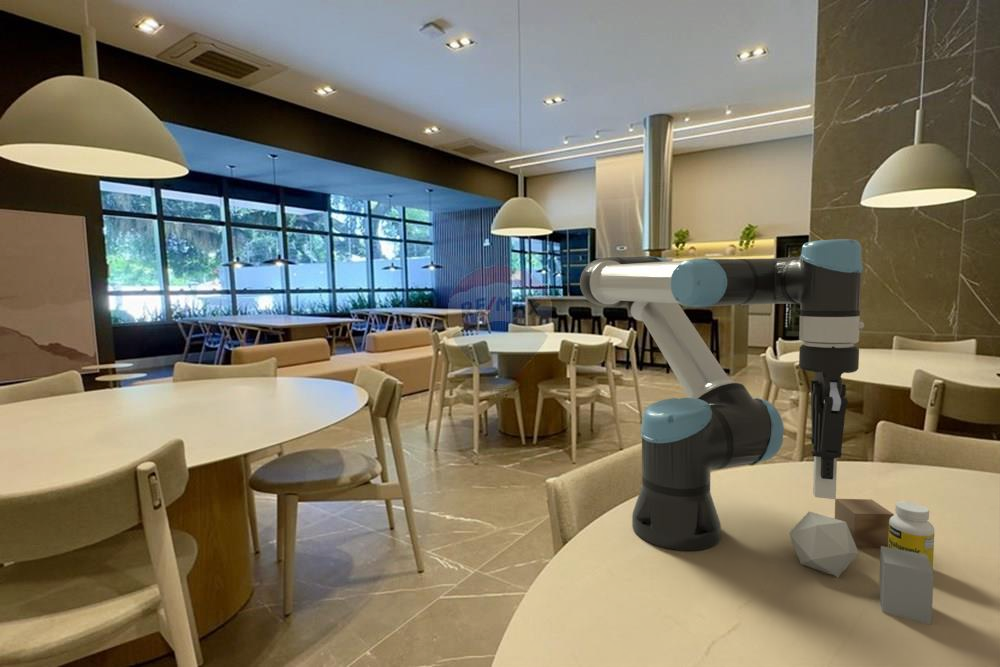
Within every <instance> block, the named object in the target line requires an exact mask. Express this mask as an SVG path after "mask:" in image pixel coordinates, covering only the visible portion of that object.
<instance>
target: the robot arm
mask: <svg viewBox="0 0 1000 667" xmlns="http://www.w3.org/2000/svg"><path fill="white" fill-rule="evenodd" d="M800 253H801V254H800V255H799V256H796V257H795V256H793V257H778V258H776V257H775V258H771V257H770V258H707V257H706V258H705V257H704V258H703V257H701V258H700V257H698V258H692V259H686V260H672V261H668V260H667V259H665V258H663V257H655V256H651V255H649V256H643V257H641V256H640V257H639V256H638V257H637V256H634V257H633V256H632V257H631V256H628V257H626V256H624V257H623V256H622V257H612V256H610V257H601V258H598V259H595V260H593V261H591V262H590V263H589V264H587V265H586V266H585V267H584V269H583V270H582V272H581V275H580V278H579V287H580V291H581V293H582V295H583V296H584V298H585V299H586V301H588V302H590V303H591V304H594V305H595V306H599V307H606V308H607V307H608V308H611V307H613V308H617V307H626V308H627V309H628V312H629V313H630V315H631V317H633V319H634V320H636V321H639V322H643V324H644V325H645V327H646V329H647V330H648V332H649V334H650V335H651V337H652V338H653V340H654V342H655V344H656V346H657V347H658V349H659V350H660V352H661V354H662V356H663V357H664V359H665V361H666V363H667V364H668V365H669V367H670V368H671V370H672V372H673V373H674V375H675V377H676V379H677V381H678V382H679V384H680V386H681V387H682V389H683V390H684V392H685V394H686V397H681V398H677V397H675V398H674V397H672V398H666V399H662V400H658V401H656V402H655V401H654V402H653V403H650V404H649V405H648V406H647V407H646V408H645V409H644V411H643V412H642V419H641V428H640V435H641V488H640V489H639V490H640V491H639V494H638V496H637V499H636V502H635V504H634V505H635V506H634V507H633V511H632V517H631V518H632V520H631V523H632V525H631V526H632V529H633V531H634V532H635V534H636V535H637V537H639V538H641V539H642V540H644V541H646V542H647V543H650V544H652V545H655V546H658V547H661V548H665V549H668V550H669V549H670V550H675V551H700V550H707V549H709V548H711V547H714V546H716V545H717V544H718V543H719V542H720V540H721V537H722V536H721V535H722V534H721V528H722V525H721V521H720V517H719V513H718V512H717V508H716V506H715V502H714V500H713V497H712V493H711V472H712V471H717V470H722V469H731V468H735V467H740V466H741V467H742V466H743V467H744V466H753V465H756V464H760V463H762V462H767V461H769V460H770V459H772V458H774V457H775V456H776V455H777V454H778V453H779V451H780V450H781V448H782V445H783V443H784V437H783V436H784V434H785V429H784V428H785V427H784V426H785V425H784V422H783V419H782V416H781V414H780V411H779V410H778V409H777V408H776V406H774V404H773V403H772V402H770V401H769V400H767V399H762V398H759V397H757V398H753V396H752V395H751V393H750V392H749V391H748V389H747V388H746V386H745V385H744V383H741V382H739V381H733V380H731V379H730V378H729V376H728V375H727V373H726V371H725V370H724V369H723V367H722V366H721V365H720V363H719V361H718V360H717V359H716V357H715V355H714V354H713V353H712V350H710V348H709V347H708V346H707V343H705V341H704V340H703V338H702V336H701V335H700V333H699V331H698V330H697V329H696V328H695V326H694V325H693V323H692V321H691V320H690V319H689V317H688V316H687V314H686V313H685V311H684V310H683V309H682V307H681V306H683V307H691V308H708V307H721V306H743V305H744V306H746V305H747V306H748V305H775V304H776V305H777V304H779V305H781V304H783V305H784V304H785V305H786V304H790V305H791V304H792V305H793V304H795V305H799V306H800V314H799V331H798V332H799V334H798V335H799V336H798V340H799V341H801V342H802V343H803V344H801V345H800V346H799V351H798V352H799V355H798V366H799V368H800V369H802V370H804V371H806V372H813V373H814V380H810V381H809V389H810V403H811V404H810V410H811V415H810V416H811V438H810V439H811V440H810V441H811V444H812V445H813V446H812V449H813V450H811V456H812V457H813V484H812V485H813V487H812V492H813V494H812V495H813V496H814V498H819V499H820V498H821V499H827V500H828V499H829V500H835V499H837V496H836V495H837V474H838V473H837V468H838V465H837V464H838V463H837V462H838V459H841V458H842V454H843V453H842V447H843V440H844V439H843V438H844V430H845V429H844V427H845V419H846V416H845V415H846V411H847V408H848V404H849V401H848V399H847V397H845V396H846V395H847V387H846V384H843V383H842V375H843V374H844V373H846V374H851V373H855V372H857V371H858V370H859V364H860V363H859V361H860V359H859V358H860V348H859V347H858V346H856V345H855V344H857V343H858V342H859V341H860V330H859V329H863V328H864V327H865V323H864V322H863V321H860V317H861V311H860V310H861V308H860V306H861V304H860V303H861V290H862V280H863V272H864V267H863V263H862V262H863V261H862V260H863V259H862V258H863V257H862V244H861V243H860V242H859V241H858V240H856V239H853V238H852V239H851V238H840V239H838V238H837V239H823V240H820V239H819V240H813V241H808V242H805V243H804V244H803V245H802V246H801V252H800ZM680 305H681V306H680Z"/></svg>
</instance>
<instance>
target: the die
mask: <svg viewBox="0 0 1000 667" xmlns="http://www.w3.org/2000/svg"><path fill="white" fill-rule="evenodd" d="M788 535H789V537H790V541H791V542H792V546H793V548H794V549H795V550H794V551H795V552H796V555H797V558H798V560H799V563H800V565H802V566H806V567H808V568H812V569H814V570H817V571H820V572H822V573H825V574H828V575H831V576H833V577H836V578H839V577H840V576H841V574H842V573H843V572H844V571H845V570H846V569H847V567H849V565H850V564H852V562H853V561H854V560H855V559H856V557H858V556H859V550H858V548H857V547H856V545H855V543H854V540H853V538H852V535H851V533H850V530H849V528H848V526H847V523H846V522H844V521H841V520H837V519H835V517H830V516H827V515H823V514H819V513H815V512H813V511H808V512H807V513H806V514H805V515H804V516H803V517H802V518H801V519H800V520H799V522H798V523H796V524H795V526H794V527H793V528H791V530H790V531H789V532H788Z"/></svg>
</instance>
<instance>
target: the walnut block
mask: <svg viewBox="0 0 1000 667" xmlns="http://www.w3.org/2000/svg"><path fill="white" fill-rule="evenodd" d="M834 501H835V502H834V519H837V520H841V521H844V522H846V523H847V526H848V528H849V530H850V533H851V535H852V538H853V540H854V543H855V545H856V547H857V549H875V550H876V549H879V550H881V546H884V547H888V537H889V520H890V518H891V517H892V516H894V515H895V513H893V512H891V511H890V510H888V509H887V508H885V507H884V506H883V505H881V504H880V503H878V502H876V501H875V500H873V499H869V498H867V499H866V498H865V499H863V498H860V499H859V498H836V499H834Z"/></svg>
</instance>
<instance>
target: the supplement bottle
mask: <svg viewBox="0 0 1000 667" xmlns="http://www.w3.org/2000/svg"><path fill="white" fill-rule="evenodd" d="M894 507H895V508H894V511H895V514H894V516H892V517H891V518H890V520H889V537H888V547H889V548H894V549H899V550H904V551H909V552H914V553H919V554H924V555H927V557H928V560H929V562H930V565H931V567H932V570H933V569H934V551H935V550H934V549H935V546H934V545H935V527H934V524H932V523H931V522H930V521H929V520H930V509H929V508H928V507H926V506H925V505H922V504H920V503H917V502H913V501H912V502H911V501H905V500H902V501H901V500H900V501H897V502H895V506H894ZM933 571H934V570H933Z"/></svg>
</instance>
